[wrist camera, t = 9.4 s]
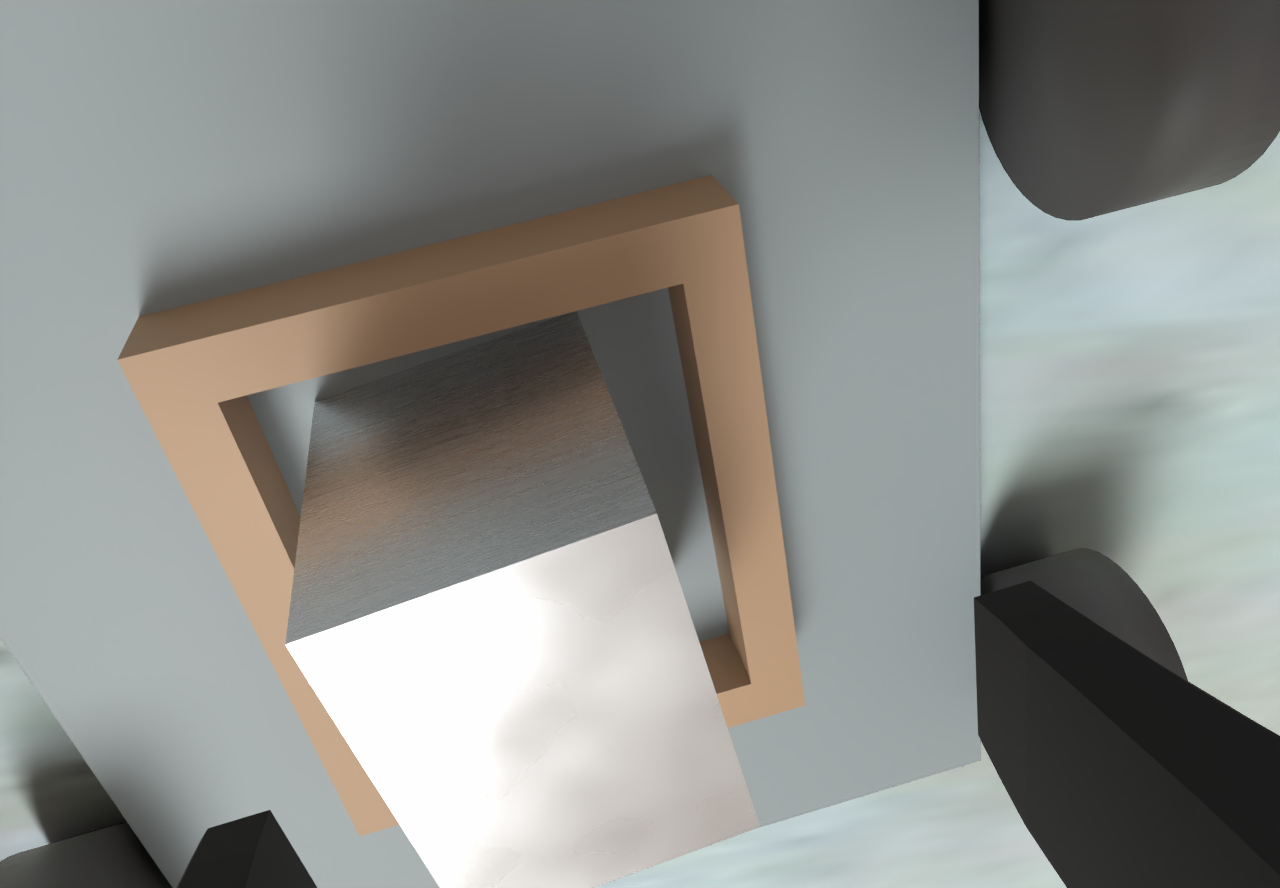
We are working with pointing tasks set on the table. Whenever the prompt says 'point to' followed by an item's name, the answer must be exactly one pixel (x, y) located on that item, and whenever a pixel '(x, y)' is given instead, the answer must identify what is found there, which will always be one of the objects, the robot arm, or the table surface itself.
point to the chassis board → (525, 296)
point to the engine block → (508, 622)
